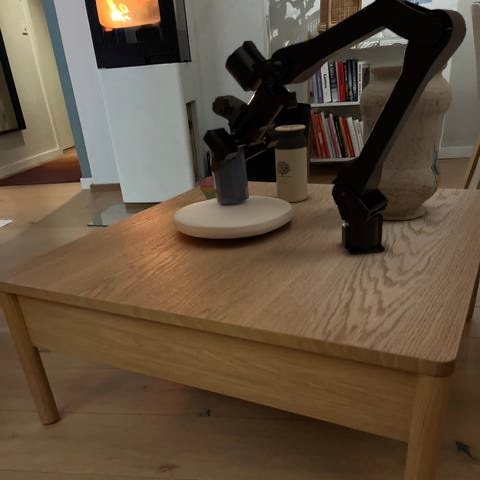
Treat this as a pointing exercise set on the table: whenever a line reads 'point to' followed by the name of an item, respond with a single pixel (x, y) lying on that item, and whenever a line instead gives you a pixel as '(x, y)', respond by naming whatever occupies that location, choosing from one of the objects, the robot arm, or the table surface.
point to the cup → (231, 179)
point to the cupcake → (208, 187)
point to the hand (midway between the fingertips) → (223, 167)
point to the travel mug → (291, 163)
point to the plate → (233, 217)
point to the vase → (408, 142)
